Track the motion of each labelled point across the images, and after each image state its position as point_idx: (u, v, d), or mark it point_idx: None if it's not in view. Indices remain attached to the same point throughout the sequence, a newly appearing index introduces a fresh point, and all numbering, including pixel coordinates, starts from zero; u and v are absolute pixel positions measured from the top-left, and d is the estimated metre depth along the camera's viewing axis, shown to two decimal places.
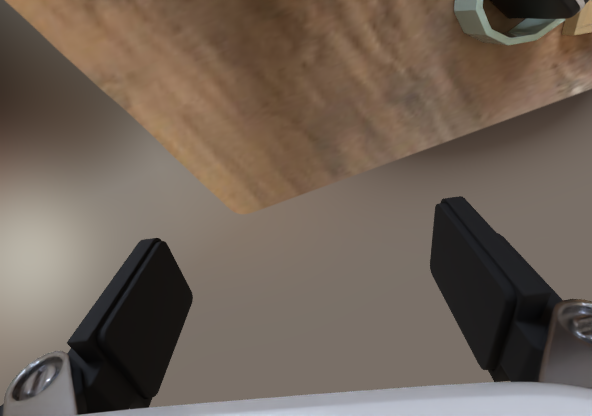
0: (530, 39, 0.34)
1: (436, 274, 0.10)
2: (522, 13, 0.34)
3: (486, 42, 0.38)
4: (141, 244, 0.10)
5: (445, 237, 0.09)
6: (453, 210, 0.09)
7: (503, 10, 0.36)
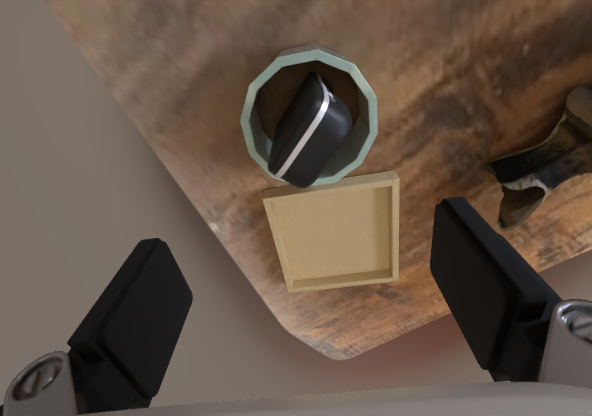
0: (249, 147, 0.26)
1: (436, 274, 0.10)
2: (278, 130, 0.27)
3: None
4: (141, 244, 0.10)
5: (445, 237, 0.09)
6: (453, 210, 0.09)
7: (283, 115, 0.29)
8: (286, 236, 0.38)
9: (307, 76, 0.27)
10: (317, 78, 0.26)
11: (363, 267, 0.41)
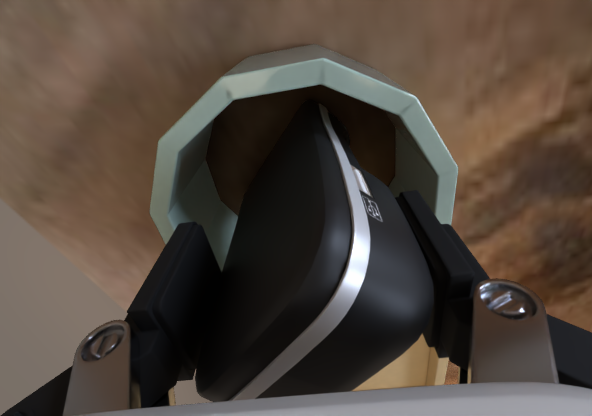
0: None
1: None
2: (241, 221, 0.13)
3: None
4: (180, 227, 0.10)
5: None
6: (407, 202, 0.09)
7: (255, 179, 0.15)
8: None
9: (300, 110, 0.14)
10: (321, 118, 0.12)
11: (386, 382, 0.27)
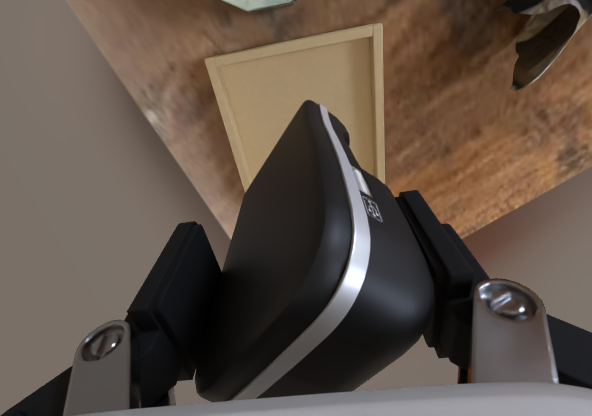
0: None
1: None
2: (241, 222, 0.13)
3: None
4: (180, 226, 0.10)
5: None
6: (407, 202, 0.09)
7: (255, 179, 0.15)
8: (243, 129, 0.30)
9: (300, 110, 0.13)
10: (321, 118, 0.12)
11: None
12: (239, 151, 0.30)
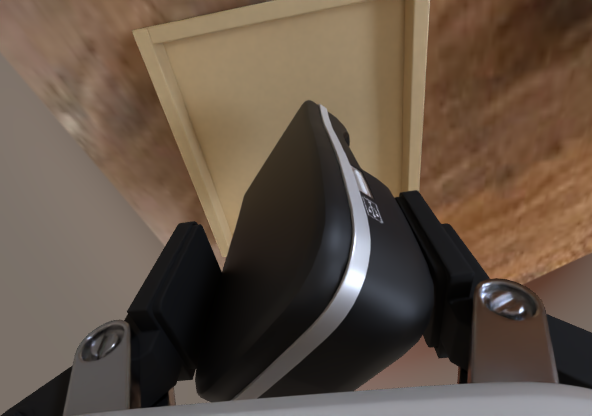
0: None
1: None
2: (241, 222, 0.13)
3: None
4: (180, 227, 0.10)
5: None
6: (407, 202, 0.09)
7: (255, 179, 0.15)
8: (207, 143, 0.20)
9: (300, 111, 0.13)
10: (321, 119, 0.12)
11: None
12: (200, 176, 0.20)
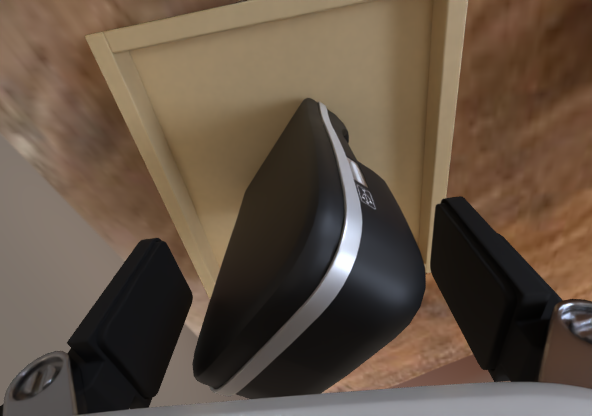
0: None
1: (436, 274, 0.10)
2: (241, 217, 0.13)
3: None
4: (141, 244, 0.10)
5: (445, 237, 0.09)
6: (453, 210, 0.09)
7: (256, 176, 0.16)
8: (188, 169, 0.17)
9: (299, 108, 0.14)
10: (320, 115, 0.12)
11: None
12: (180, 210, 0.16)
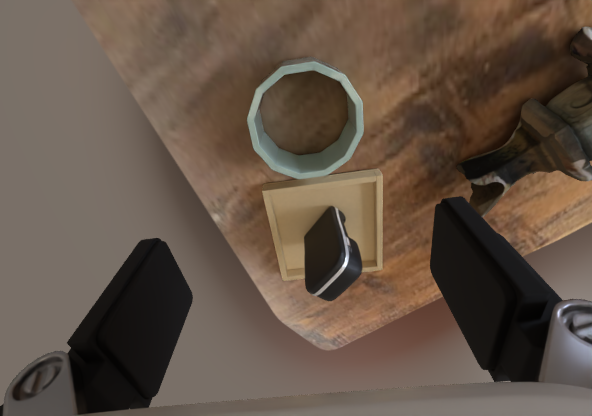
0: (253, 142, 0.31)
1: (436, 274, 0.10)
2: (308, 248, 0.39)
3: None
4: (141, 244, 0.10)
5: (445, 237, 0.09)
6: (453, 210, 0.09)
7: (310, 231, 0.41)
8: (282, 227, 0.42)
9: (328, 210, 0.39)
10: (336, 216, 0.38)
11: None
12: (279, 244, 0.42)
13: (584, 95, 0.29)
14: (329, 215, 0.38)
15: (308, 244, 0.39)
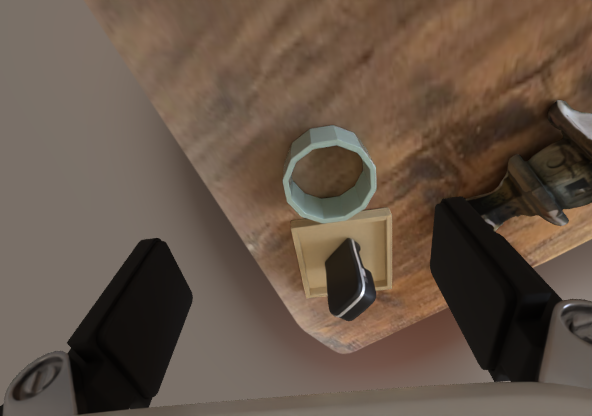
0: (287, 197, 0.38)
1: (436, 274, 0.10)
2: (329, 274, 0.46)
3: (284, 165, 0.40)
4: (141, 244, 0.10)
5: (445, 237, 0.09)
6: (453, 210, 0.09)
7: (330, 258, 0.49)
8: (306, 255, 0.50)
9: (346, 242, 0.47)
10: (353, 248, 0.45)
11: None
12: (304, 269, 0.49)
13: (557, 156, 0.36)
14: (347, 247, 0.46)
15: (329, 270, 0.47)
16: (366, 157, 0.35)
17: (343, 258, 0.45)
